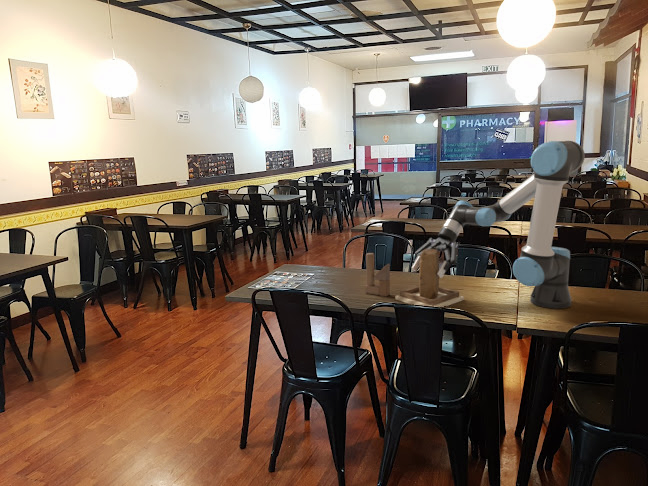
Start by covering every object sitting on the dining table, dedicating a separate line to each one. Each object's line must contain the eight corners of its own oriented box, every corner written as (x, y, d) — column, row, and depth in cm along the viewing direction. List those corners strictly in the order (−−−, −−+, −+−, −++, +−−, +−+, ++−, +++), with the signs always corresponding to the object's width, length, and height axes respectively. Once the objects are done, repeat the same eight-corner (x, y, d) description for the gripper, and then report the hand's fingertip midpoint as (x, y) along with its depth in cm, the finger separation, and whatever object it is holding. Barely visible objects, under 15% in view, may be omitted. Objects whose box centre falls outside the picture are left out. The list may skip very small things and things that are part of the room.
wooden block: (386, 296, 212) (386, 256, 209) (364, 293, 218) (364, 253, 215) (390, 294, 215) (390, 254, 212) (368, 291, 221) (368, 252, 218)
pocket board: (463, 300, 205) (463, 292, 204) (432, 310, 193) (433, 302, 192) (426, 289, 221) (426, 282, 220) (395, 299, 208) (395, 291, 208)
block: (435, 300, 200) (436, 253, 196) (417, 299, 203) (418, 252, 199) (440, 293, 210) (441, 247, 206) (422, 291, 213) (423, 246, 209)
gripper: (478, 241, 202) (455, 283, 195) (430, 234, 221) (407, 272, 215) (471, 230, 197) (447, 273, 191) (422, 223, 217) (399, 262, 210)
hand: (426, 272), depth 203 cm, fingers open, 13 cm apart
